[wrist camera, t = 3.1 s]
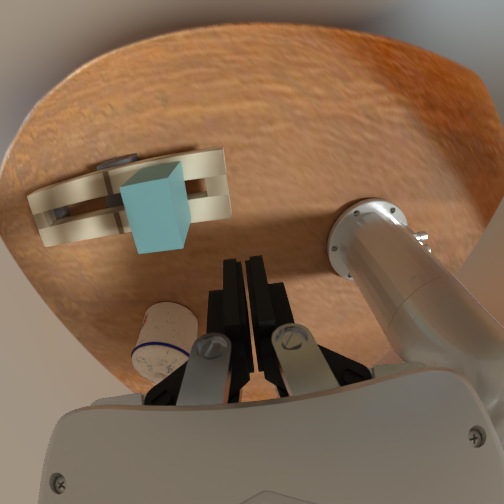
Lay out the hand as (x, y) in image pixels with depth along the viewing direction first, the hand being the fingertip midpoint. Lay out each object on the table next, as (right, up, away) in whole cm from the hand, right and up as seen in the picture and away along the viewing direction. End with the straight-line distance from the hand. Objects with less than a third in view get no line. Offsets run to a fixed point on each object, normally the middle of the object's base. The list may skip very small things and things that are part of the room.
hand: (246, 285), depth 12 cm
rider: (-8, +8, +15) cm, 19 cm away
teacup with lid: (-12, -10, +30) cm, 34 cm away
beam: (-14, +9, +18) cm, 25 cm away
